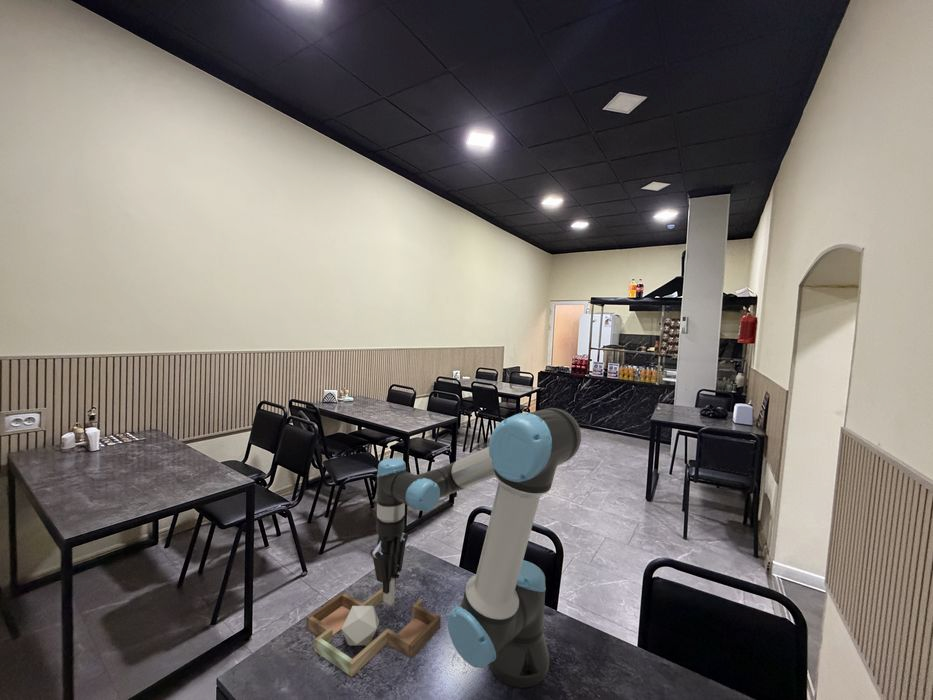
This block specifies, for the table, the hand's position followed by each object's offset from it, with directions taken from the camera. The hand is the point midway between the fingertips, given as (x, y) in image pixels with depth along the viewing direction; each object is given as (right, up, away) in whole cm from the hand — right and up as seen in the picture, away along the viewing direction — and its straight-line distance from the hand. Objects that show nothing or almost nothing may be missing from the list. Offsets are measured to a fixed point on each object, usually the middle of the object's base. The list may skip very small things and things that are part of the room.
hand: (388, 601), depth 106 cm
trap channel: (-3, -5, -4) cm, 7 cm away
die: (-6, -5, -8) cm, 11 cm away
